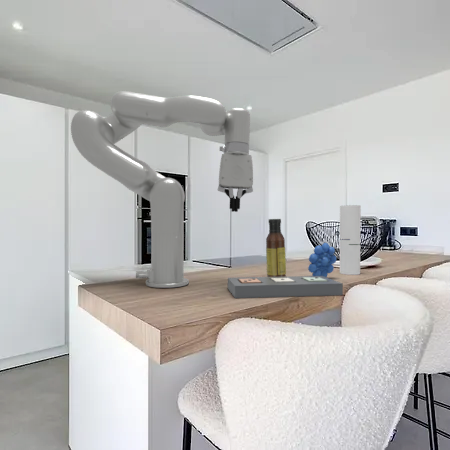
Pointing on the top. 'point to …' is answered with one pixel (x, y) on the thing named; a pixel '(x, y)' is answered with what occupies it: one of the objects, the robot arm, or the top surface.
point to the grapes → (322, 260)
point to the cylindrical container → (350, 239)
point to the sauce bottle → (275, 250)
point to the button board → (283, 287)
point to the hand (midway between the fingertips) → (234, 211)
